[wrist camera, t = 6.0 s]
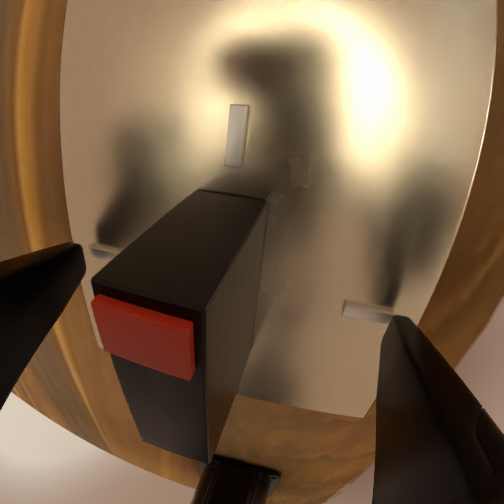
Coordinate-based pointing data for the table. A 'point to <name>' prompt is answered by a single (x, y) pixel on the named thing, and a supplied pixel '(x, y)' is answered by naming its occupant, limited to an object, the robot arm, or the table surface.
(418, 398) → the robot arm
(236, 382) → the stove knob
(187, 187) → the panel
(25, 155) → the table surface
